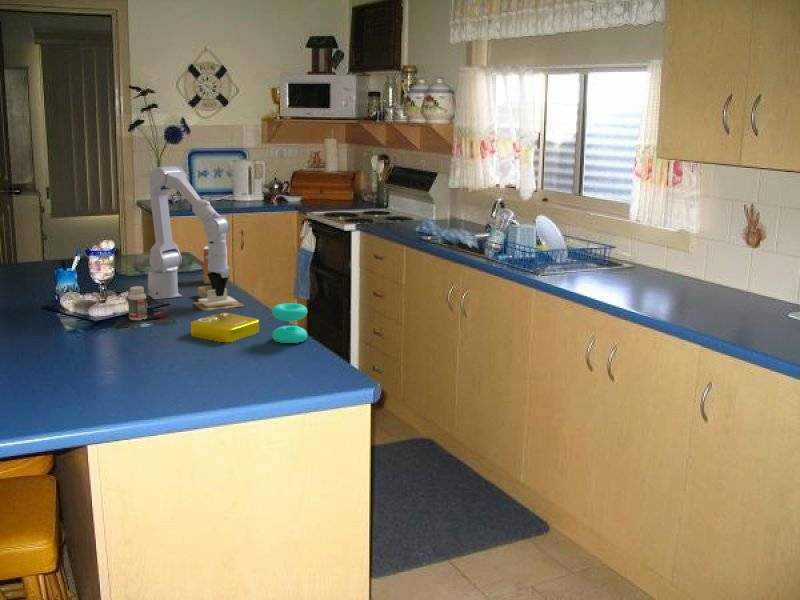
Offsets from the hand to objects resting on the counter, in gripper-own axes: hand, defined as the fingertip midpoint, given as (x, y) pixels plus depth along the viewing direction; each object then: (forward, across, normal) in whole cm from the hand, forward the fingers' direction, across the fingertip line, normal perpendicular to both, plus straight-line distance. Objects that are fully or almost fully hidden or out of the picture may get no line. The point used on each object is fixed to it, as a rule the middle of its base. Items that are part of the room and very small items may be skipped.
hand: (218, 295), depth 277 cm
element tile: (+4, -33, +9) cm, 34 cm away
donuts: (+4, -47, -5) cm, 47 cm away
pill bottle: (+4, -6, +28) cm, 28 cm away
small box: (+4, +34, -10) cm, 35 cm away
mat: (+3, 0, 0) cm, 3 cm away
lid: (+2, 0, 0) cm, 2 cm away
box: (+3, +10, -2) cm, 11 cm away
